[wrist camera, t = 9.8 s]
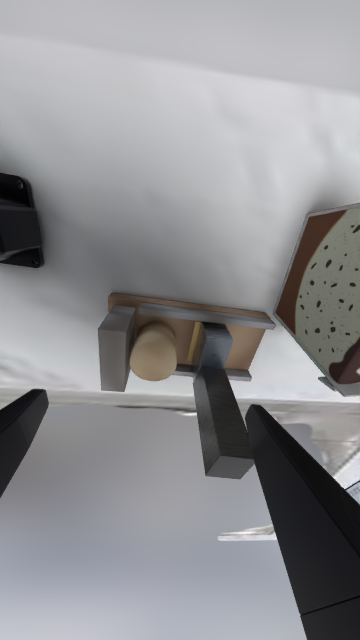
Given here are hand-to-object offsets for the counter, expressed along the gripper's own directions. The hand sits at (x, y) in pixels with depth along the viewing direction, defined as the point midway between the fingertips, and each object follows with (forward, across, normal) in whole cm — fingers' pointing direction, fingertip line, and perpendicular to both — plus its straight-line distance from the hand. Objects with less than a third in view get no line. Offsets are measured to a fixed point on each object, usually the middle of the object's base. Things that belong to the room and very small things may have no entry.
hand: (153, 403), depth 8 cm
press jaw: (+11, -5, +4) cm, 12 cm away
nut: (+11, 0, +4) cm, 11 cm away
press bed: (+12, -3, +4) cm, 13 cm away
